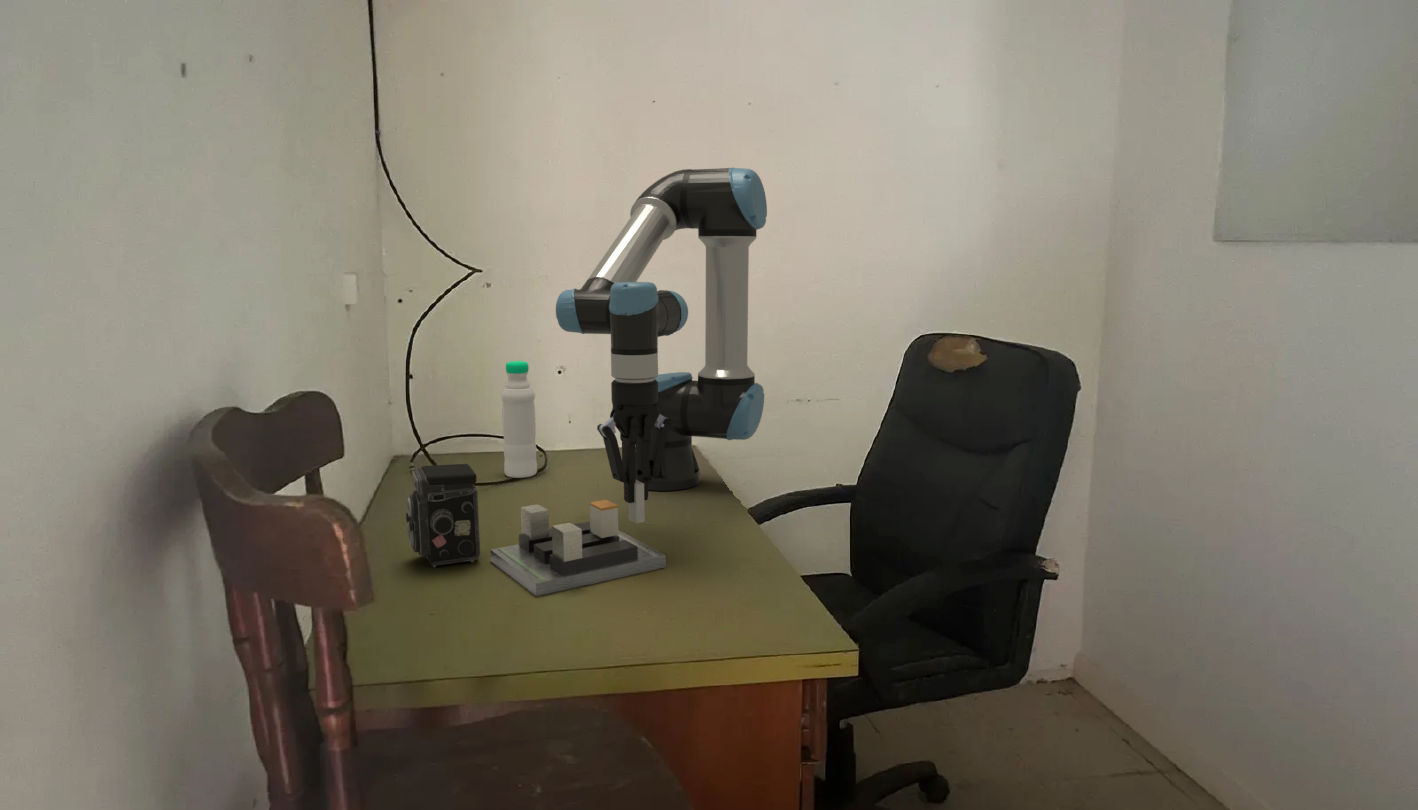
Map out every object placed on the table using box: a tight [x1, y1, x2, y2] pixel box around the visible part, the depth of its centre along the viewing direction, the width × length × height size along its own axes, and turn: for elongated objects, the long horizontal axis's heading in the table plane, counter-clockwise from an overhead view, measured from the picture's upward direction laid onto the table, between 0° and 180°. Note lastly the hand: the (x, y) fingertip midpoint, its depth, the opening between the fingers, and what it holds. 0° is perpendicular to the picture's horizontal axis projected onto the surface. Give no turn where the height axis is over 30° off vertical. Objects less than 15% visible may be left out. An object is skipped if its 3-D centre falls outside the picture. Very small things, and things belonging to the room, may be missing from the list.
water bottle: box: [501, 360, 538, 479], centre depth 204 cm, size 7×7×25 cm
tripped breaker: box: [589, 499, 619, 538], centre depth 151 cm, size 3×4×5 cm
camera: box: [405, 463, 481, 568], centre depth 151 cm, size 10×10×15 cm
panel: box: [490, 504, 667, 597], centre depth 149 cm, size 22×18×8 cm
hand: (636, 520), depth 155 cm, fingers closed
